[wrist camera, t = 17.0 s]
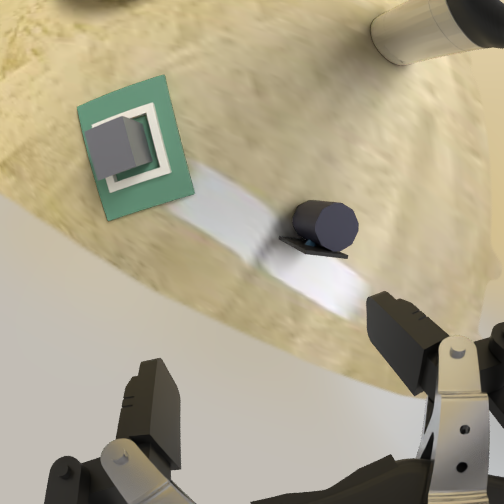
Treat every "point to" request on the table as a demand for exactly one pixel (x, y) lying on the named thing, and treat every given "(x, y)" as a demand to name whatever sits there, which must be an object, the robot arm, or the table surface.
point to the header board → (159, 141)
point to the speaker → (323, 228)
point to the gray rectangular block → (117, 146)
